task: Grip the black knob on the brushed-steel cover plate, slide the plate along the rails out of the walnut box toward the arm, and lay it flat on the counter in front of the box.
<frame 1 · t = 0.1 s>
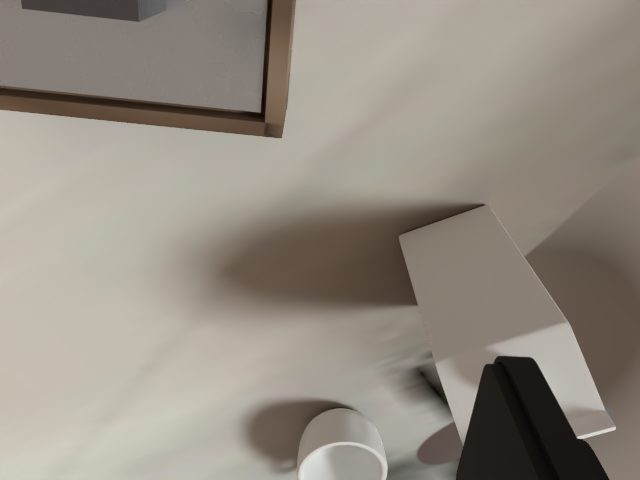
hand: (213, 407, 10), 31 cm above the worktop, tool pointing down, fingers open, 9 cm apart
teacup: (335, 433, 53), on the worktop
milk carton: (453, 255, 44), on the worktop
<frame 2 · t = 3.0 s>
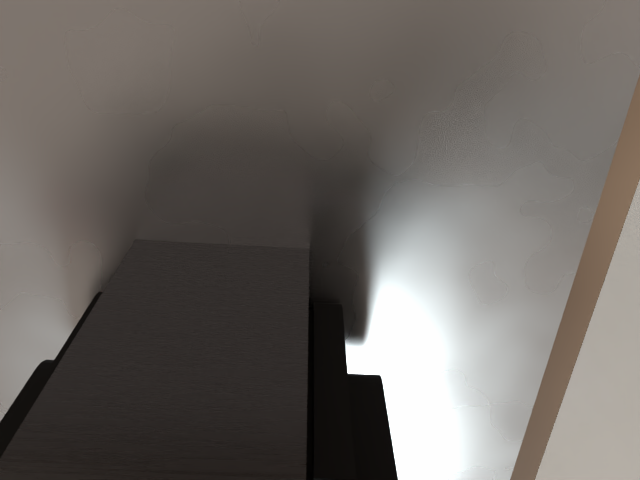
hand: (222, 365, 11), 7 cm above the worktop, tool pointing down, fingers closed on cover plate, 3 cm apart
walnut box: (256, 209, 17), on the worktop
cover plate: (231, 327, 12), point 6 cm above the worktop, touching gripper
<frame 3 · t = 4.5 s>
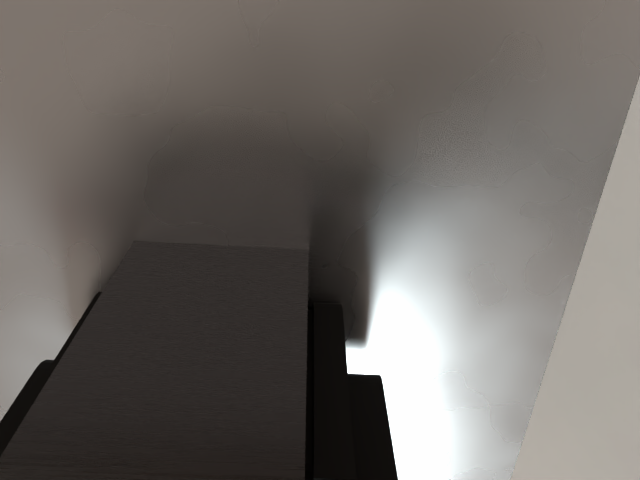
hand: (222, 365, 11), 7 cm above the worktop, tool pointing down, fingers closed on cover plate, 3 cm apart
cover plate: (230, 328, 12), point 6 cm above the worktop, touching gripper
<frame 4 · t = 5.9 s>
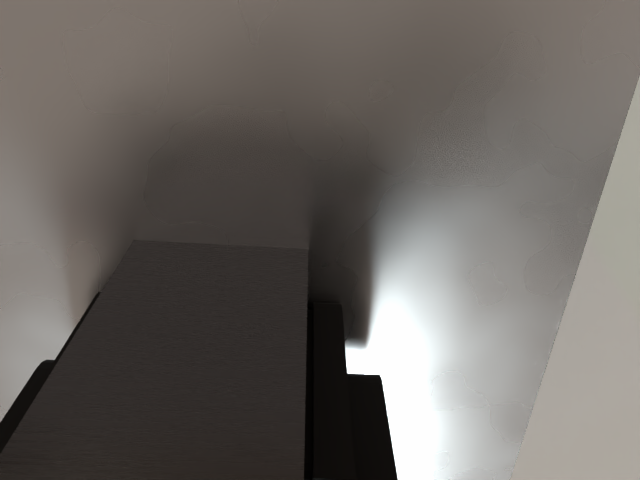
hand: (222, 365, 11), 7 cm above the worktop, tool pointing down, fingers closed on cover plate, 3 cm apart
cover plate: (230, 328, 12), point 6 cm above the worktop, touching gripper, walnut box
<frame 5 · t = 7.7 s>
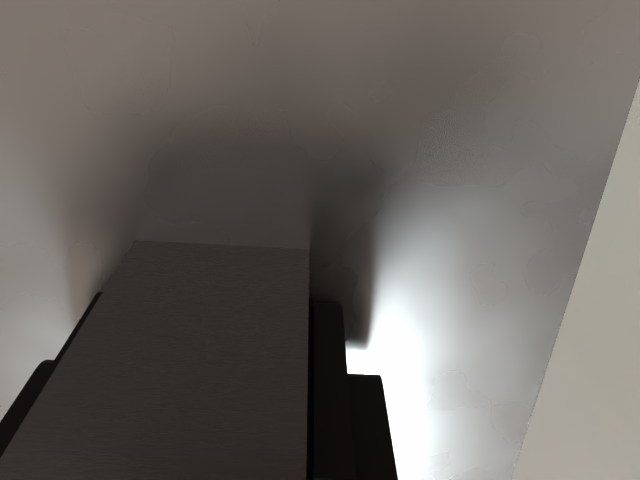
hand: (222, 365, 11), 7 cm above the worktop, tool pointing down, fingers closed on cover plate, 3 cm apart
cover plate: (230, 328, 12), point 6 cm above the worktop, touching gripper
when the fingers open (3 cm above the worktop, at t = 9.1 s): cover plate drops 2 cm, on the worktop.
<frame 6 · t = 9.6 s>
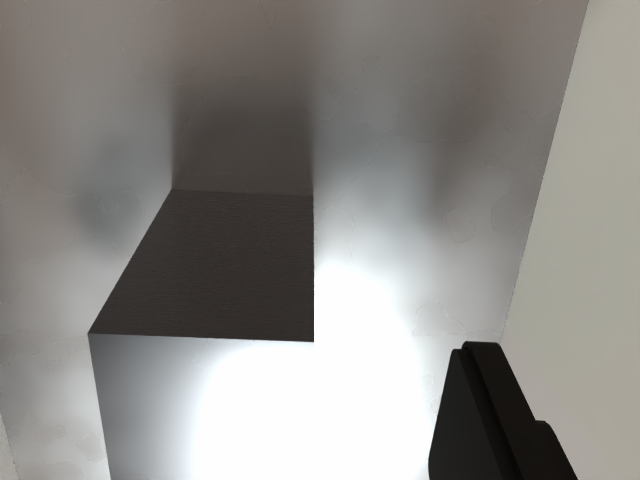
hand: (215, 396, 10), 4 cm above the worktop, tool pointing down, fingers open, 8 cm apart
cover plate: (247, 270, 14), on the worktop
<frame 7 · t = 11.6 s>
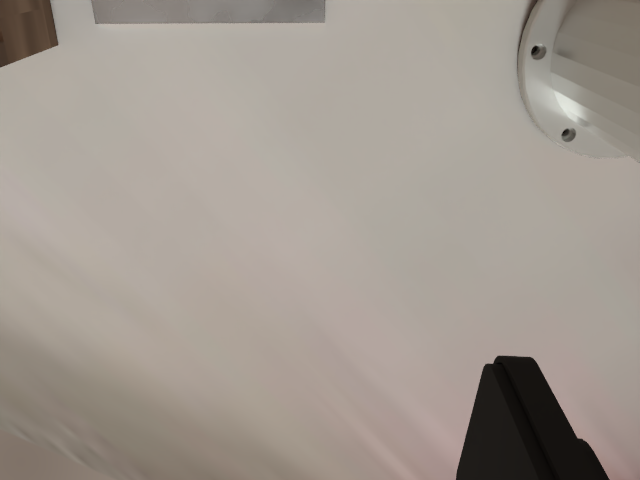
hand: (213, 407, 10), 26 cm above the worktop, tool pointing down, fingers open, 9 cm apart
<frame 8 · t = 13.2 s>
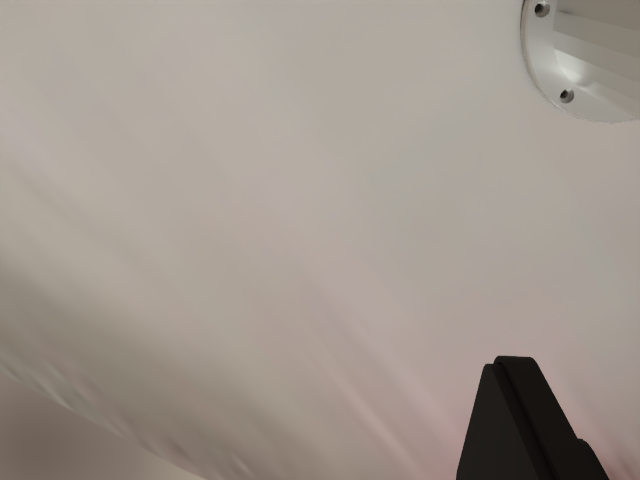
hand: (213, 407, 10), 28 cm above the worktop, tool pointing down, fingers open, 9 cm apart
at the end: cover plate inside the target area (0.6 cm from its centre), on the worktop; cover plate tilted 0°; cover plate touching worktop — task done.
